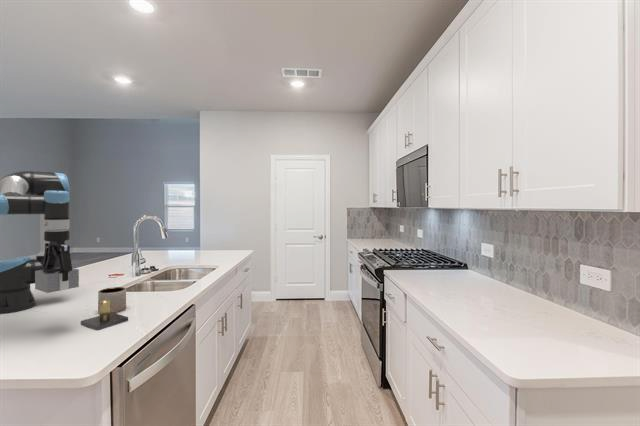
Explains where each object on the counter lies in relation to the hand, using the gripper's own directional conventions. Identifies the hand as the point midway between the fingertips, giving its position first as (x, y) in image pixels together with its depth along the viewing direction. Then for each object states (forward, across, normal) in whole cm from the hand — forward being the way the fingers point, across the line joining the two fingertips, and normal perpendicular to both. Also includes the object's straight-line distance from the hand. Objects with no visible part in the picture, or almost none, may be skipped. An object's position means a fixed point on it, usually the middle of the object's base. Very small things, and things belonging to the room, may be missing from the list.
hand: (57, 287), depth 121 cm
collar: (0, 0, 0) cm, 0 cm away
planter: (+17, -5, +23) cm, 29 cm away
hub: (+17, +8, +13) cm, 23 cm away
